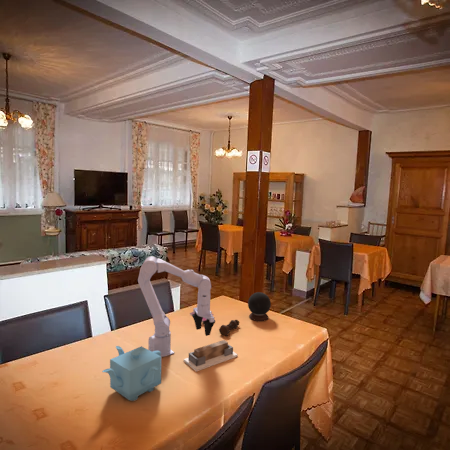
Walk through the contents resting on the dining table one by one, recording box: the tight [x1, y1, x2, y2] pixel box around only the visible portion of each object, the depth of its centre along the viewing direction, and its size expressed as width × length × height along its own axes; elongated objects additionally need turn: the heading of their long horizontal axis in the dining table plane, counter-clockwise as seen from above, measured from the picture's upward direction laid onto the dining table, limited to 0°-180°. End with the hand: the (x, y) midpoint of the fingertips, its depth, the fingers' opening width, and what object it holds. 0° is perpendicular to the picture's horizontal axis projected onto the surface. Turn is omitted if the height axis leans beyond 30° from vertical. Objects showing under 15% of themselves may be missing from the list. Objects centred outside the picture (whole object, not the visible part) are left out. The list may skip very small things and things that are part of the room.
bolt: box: [218, 319, 240, 337], centre depth 181 cm, size 6×5×15 cm
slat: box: [193, 339, 229, 361], centre depth 151 cm, size 16×3×5 cm, turn 127°
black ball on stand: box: [247, 291, 272, 322], centre depth 199 cm, size 13×13×15 cm
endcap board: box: [183, 343, 239, 372], centre depth 151 cm, size 22×10×4 cm, turn 127°
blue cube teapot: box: [102, 345, 162, 402], centre depth 126 cm, size 19×19×15 cm
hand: (203, 332), depth 157 cm, fingers open, 7 cm apart
